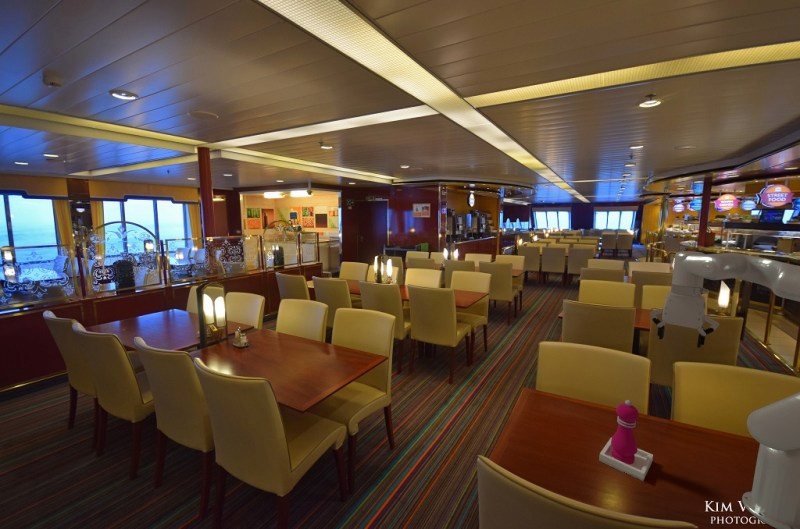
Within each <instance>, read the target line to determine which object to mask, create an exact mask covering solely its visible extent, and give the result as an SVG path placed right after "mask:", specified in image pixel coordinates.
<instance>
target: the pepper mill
mask: <svg viewBox="0 0 800 529" xmlns="http://www.w3.org/2000/svg"><path fill="white" fill-rule="evenodd" d="M615 411H616V415H617V420H616V422H617V423H618V425H617V426H618V427H617V430H616V431H615V432H614V434H613V435H612V439H611V445H612V447H613V448H612V456H613V458H614V459H617V460H619V461H621V462H623V463H626V464H633V463H634V460H635V454H636V453H637V448H638V443H637V440H636V438H635V432H634V430H635V429H634V428H635V427H636V426H637V420H638V419H639V417H640V413H639V410H638V409H637V407H636V406H634V405H633V404H632V401H631V400H629V399H626V400H625V401H624V403H620V404H619V403H618V405H617V406H616V409H615ZM638 449H639V448H638Z"/></svg>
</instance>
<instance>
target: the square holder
mask: <svg viewBox="0 0 800 529" xmlns="http://www.w3.org/2000/svg"><path fill="white" fill-rule="evenodd" d="M612 437H613V436H612ZM612 437H610V438H609V440H608V441H607V443H606V444H605V446H604V447H603V448H602V449H601V451H600V453H599V457H598V458H599V460H598V461H599V462H601V463H603V464H606V465H607V466H610V467H612V468H614V469H616V470H618V471H620V472H622V473H624V472H625V473H624V474H626V473H627V474H626V475H629V476H630V477H633V478H635V479H637V480H639V481H640V482H641V481H642V482H644V480H645V478H646V476H647V474H648V472H649V470H650V468H651V465H652V463H653V459H654V454H653V453H651V452H650V453H649V452H647V451H645V450H643V449H640V448H637V453H636V454H635V460H634V463H633V464H626V463H623V462H621V461H619V460H617V459H614V458H613V456H612V448H613V447H612V445H611V439H612Z"/></svg>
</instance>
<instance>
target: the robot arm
mask: <svg viewBox="0 0 800 529" xmlns="http://www.w3.org/2000/svg"><path fill="white" fill-rule="evenodd" d="M673 262H674V263H673V267H672V268H673V269H672V279H671V288H670V291H668V293H667V294H666V297H665V302H664V305H663V308H660V309H656V310H652V311H649V316H650V318H651V321H652V322H653V323H654V324H656V326H657V336H658V339H659V340H663V339H664V337H665V336H664V335H665V329H666V327H665V325H666V324H669V325H675V326H680V327H684V328H690V329H696V330H697V332H699V334H698V338H697V346H696V347H697V348H698V349H700V348H701V347H702V346H705V341H706V336H708V335H710V334H711V333H713V332H714V331H716V330H717V328H719V326H720V323H719V322H718V321H717V320H715V319H712V318H711V317H709V316H707V315H706V298H705V296H704V295H706V294H708V295H709V289H706V288H704V279H707V280H711V281H719V280H728V279H736V280H741V281H746V282H750V283H754V284H758V285H761V286H764V287H766V288H769V289H770V290H771V291H772V293H773V294H775V295H776V296H778V297H780V298H783V299H788V300H791V301H795V302H800V265H797V264H796V265H795V264H792V263H787V262H782V261H778V260H775V259H770V258H766V257H760V256H755V255H750V254H746V253H745V254H744V253H737V252H723V253H720V252H719V253H707V254H705V253H704V252H701V251H692V250H690V251H689V250H683V251H678V252H676V254H675V255H674V261H673ZM775 295H774V296H775ZM660 314H662V316H661V317H662V318H661V319H662V320H660V319H659V318H658V317H657V315H660ZM705 322H707V323H708V324H710V325H711V326H710V327H708V328H705V326H704V325H705ZM746 420H747V421H746V426H747V430H748V432H749V433H750V435H751V436H752V438H753V439H754V440H755V441H757V442H758V443H759V448H758V453H757V459H756V465H755V470H754V475H753V476H754V477H753V481H752V482H753V483H752V489H751V491H746V492H745V493H743V495H742V497H741V498H742V499H741V501H742V504H743V506H744V507H745V508H746V510H747V511H748V512H749V513H751V514H752V515H753V516H754V517H756V518H757V519H759V520H760V521H761V522H763V523H765V524H766V525H769V526H770V527H772V528H775V529H800V391H799V392H797V393H794V394H791V395H790V396H787V397H785V398H782V399H780V400H778V401H777V400H776V401H775V402H772V403H771V404H768V405H766V406H762V407H761V408H758V409H755V410H753V411H752V412H751V413H750V414H749V415H748V417H747V419H746Z"/></svg>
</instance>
